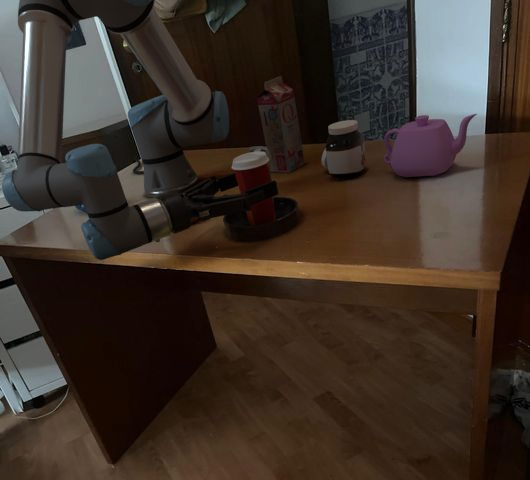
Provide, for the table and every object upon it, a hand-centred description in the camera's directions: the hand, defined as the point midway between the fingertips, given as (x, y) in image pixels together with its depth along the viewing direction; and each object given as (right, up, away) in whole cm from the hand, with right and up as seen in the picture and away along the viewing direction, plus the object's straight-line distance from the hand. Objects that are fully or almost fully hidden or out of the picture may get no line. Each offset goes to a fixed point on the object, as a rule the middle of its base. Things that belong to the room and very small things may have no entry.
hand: (260, 181), depth 108 cm
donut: (-18, -4, +17) cm, 25 cm away
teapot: (+38, +6, +11) cm, 40 cm away
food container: (+1, +4, +22) cm, 22 cm away
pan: (0, -8, +5) cm, 9 cm away
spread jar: (+20, +9, +22) cm, 31 cm away
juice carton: (+7, +15, +36) cm, 39 cm away
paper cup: (0, -8, +4) cm, 9 cm away
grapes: (-48, +4, +40) cm, 63 cm away
